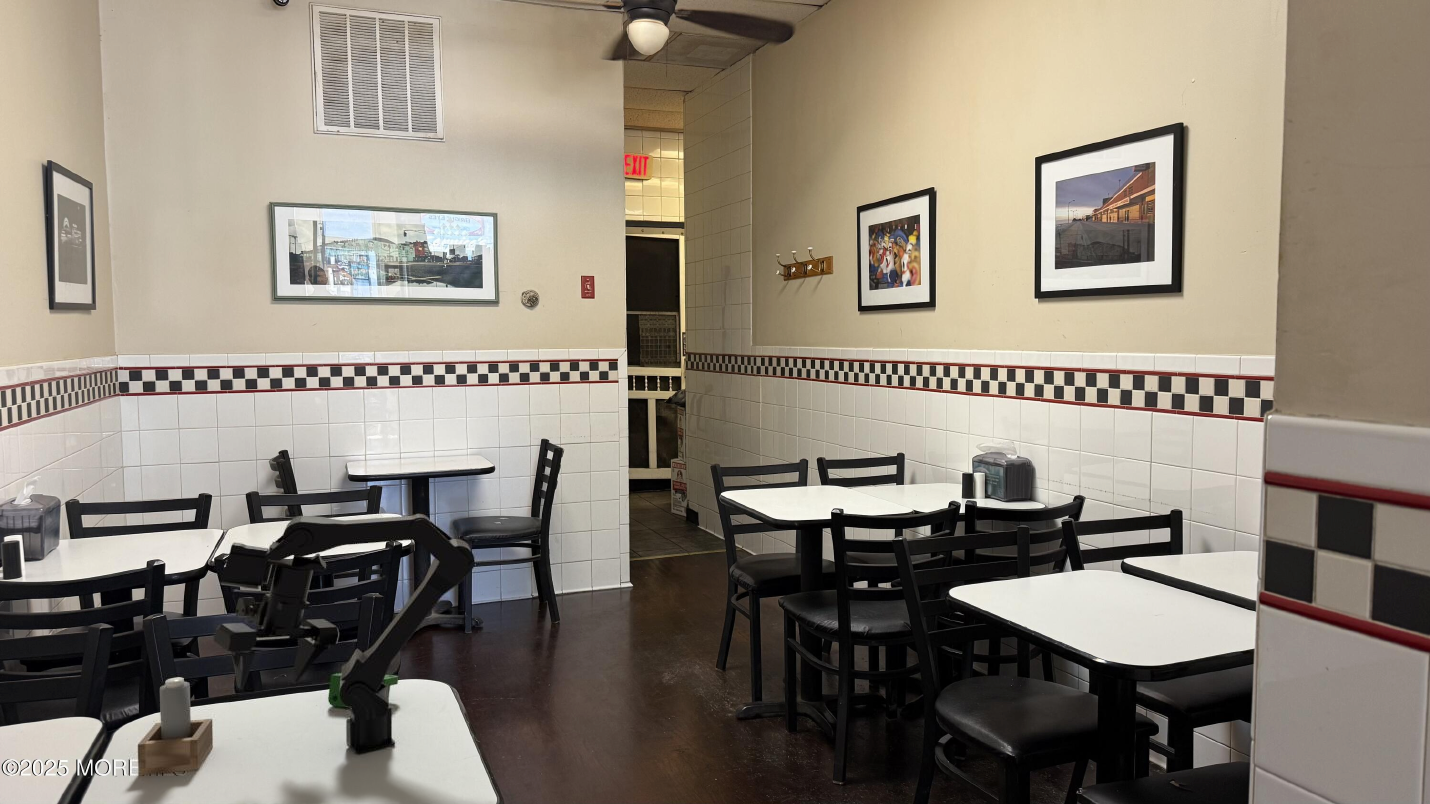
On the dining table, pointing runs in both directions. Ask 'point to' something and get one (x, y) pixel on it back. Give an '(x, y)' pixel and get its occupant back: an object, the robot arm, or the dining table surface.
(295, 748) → the dining table surface
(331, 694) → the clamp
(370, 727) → the robot arm
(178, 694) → the white rounded cylinder
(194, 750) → the end holder
